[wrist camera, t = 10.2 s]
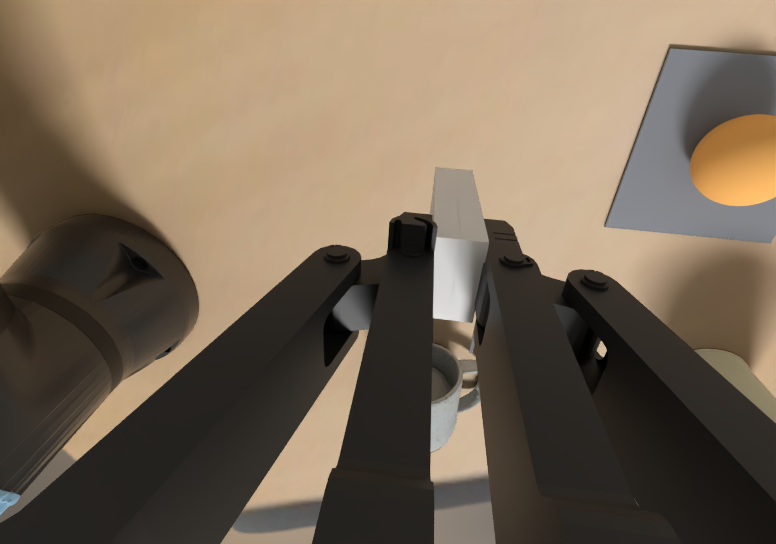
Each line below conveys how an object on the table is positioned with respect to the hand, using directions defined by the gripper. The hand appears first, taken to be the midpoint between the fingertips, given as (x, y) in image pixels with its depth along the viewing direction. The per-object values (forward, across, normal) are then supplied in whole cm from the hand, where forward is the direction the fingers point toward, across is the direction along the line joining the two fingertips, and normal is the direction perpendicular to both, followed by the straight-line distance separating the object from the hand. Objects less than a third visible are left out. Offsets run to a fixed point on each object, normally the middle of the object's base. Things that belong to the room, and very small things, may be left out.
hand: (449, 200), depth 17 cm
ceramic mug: (+14, +2, -23) cm, 27 cm away
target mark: (+14, +19, 0) cm, 24 cm away
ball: (+11, +19, 0) cm, 22 cm away
